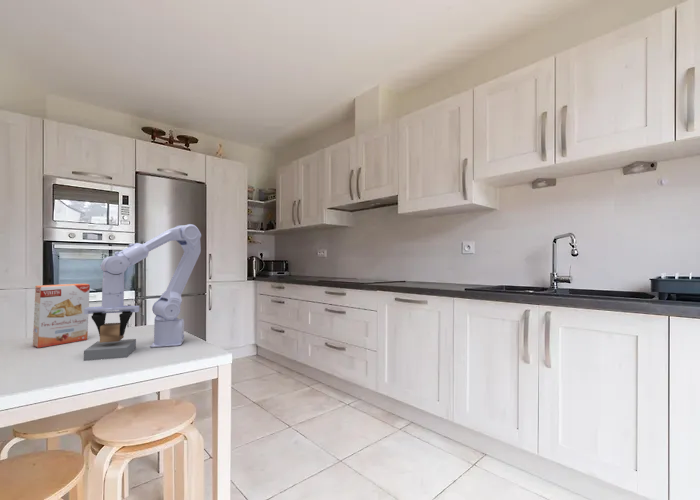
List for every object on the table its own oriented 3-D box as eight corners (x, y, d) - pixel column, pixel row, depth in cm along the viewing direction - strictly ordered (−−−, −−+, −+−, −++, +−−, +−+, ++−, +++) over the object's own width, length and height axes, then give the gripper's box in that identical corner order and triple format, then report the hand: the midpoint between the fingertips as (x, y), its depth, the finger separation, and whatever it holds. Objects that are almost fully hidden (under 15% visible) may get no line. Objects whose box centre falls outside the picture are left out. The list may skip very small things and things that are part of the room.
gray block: (135, 349, 112) (136, 338, 112) (126, 358, 102) (126, 347, 102) (97, 351, 109) (97, 341, 109) (83, 362, 98) (83, 350, 98)
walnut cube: (123, 337, 109) (123, 322, 109) (118, 341, 104) (118, 325, 104) (105, 338, 107) (105, 323, 107) (99, 342, 102) (100, 326, 102)
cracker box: (38, 348, 110) (40, 286, 110) (32, 346, 113) (34, 285, 113) (88, 340, 121) (90, 283, 122) (81, 337, 125) (83, 282, 125)
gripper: (80, 295, 99) (79, 340, 99) (135, 294, 104) (134, 336, 104) (89, 292, 106) (88, 334, 106) (141, 291, 111) (140, 331, 111)
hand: (112, 335), depth 105 cm, fingers closed on walnut cube, 5 cm apart
